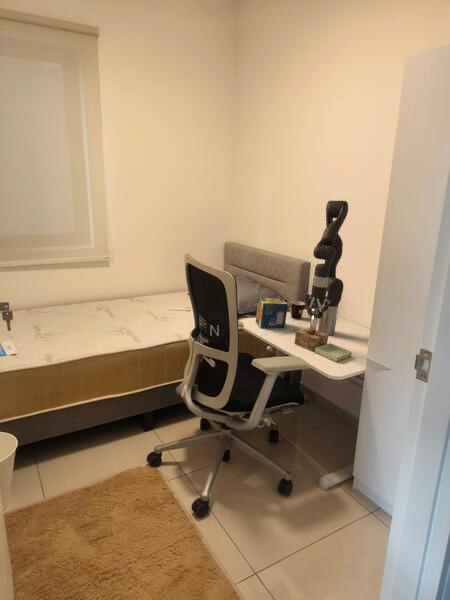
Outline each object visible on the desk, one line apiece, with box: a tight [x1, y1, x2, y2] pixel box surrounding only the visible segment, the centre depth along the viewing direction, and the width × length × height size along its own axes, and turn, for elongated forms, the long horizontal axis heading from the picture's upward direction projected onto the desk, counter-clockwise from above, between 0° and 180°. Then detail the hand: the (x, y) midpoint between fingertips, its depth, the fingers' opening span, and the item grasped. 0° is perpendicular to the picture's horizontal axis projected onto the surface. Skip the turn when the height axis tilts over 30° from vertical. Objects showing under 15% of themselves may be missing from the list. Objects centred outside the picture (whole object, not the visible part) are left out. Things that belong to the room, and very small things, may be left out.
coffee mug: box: [287, 300, 306, 320], centre depth 250 cm, size 12×9×10 cm
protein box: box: [255, 297, 289, 329], centre depth 230 cm, size 10×15×16 cm
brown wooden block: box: [294, 327, 329, 353], centre depth 205 cm, size 12×12×7 cm
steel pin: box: [309, 307, 320, 334], centre depth 202 cm, size 5×5×13 cm
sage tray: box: [314, 342, 353, 363], centre depth 196 cm, size 13×13×3 cm
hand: (315, 316), depth 202 cm, fingers closed on steel pin, 5 cm apart
